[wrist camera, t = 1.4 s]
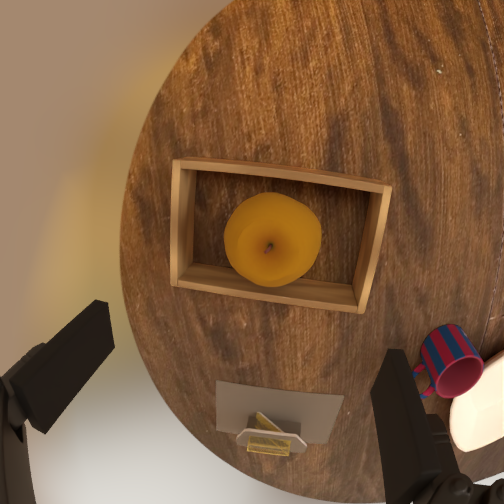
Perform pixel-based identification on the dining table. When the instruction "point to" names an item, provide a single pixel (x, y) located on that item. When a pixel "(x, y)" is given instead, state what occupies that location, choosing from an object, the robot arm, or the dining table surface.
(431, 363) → the mug
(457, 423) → the bowl
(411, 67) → the dining table surface
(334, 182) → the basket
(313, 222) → the apple
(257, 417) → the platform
